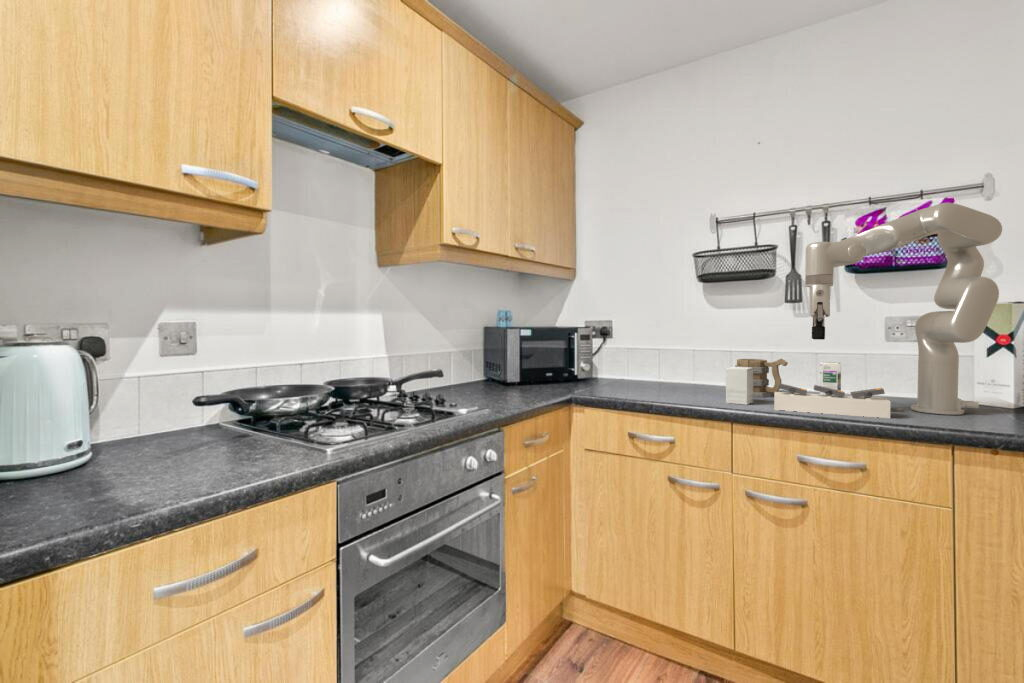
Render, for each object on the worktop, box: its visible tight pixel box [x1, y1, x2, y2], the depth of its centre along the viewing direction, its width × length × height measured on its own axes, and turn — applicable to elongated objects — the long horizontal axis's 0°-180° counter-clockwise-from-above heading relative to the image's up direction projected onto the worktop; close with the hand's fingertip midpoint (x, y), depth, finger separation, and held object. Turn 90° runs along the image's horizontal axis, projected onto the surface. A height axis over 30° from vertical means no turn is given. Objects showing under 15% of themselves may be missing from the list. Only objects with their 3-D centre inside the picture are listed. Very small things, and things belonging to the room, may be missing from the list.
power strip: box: [773, 391, 906, 419], centre depth 151 cm, size 34×8×5 cm, turn 61°
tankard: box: [734, 358, 788, 398], centre depth 186 cm, size 20×13×15 cm, turn 30°
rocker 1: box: [778, 382, 808, 395], centre depth 157 cm, size 8×4×2 cm, turn 61°
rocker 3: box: [850, 387, 886, 398], centre depth 147 cm, size 8×4×2 cm, turn 61°
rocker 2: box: [813, 384, 846, 397], centre depth 152 cm, size 8×4×2 cm, turn 61°
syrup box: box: [819, 361, 842, 395], centre depth 168 cm, size 6×6×14 cm
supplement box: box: [725, 366, 754, 406], centre depth 170 cm, size 7×7×13 cm
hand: (818, 338), depth 153 cm, fingers open, 4 cm apart
